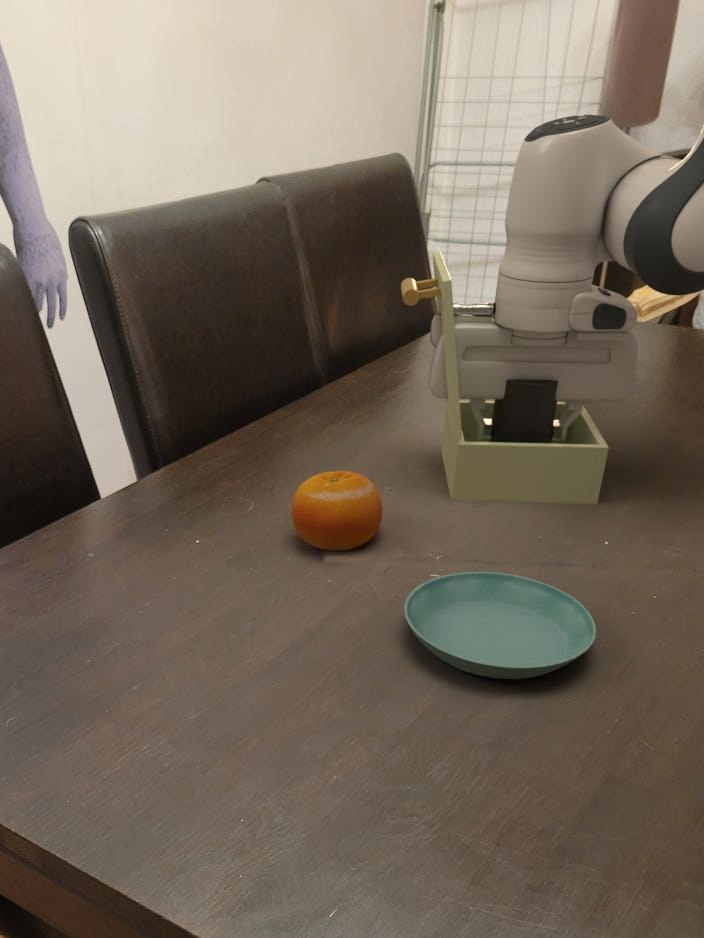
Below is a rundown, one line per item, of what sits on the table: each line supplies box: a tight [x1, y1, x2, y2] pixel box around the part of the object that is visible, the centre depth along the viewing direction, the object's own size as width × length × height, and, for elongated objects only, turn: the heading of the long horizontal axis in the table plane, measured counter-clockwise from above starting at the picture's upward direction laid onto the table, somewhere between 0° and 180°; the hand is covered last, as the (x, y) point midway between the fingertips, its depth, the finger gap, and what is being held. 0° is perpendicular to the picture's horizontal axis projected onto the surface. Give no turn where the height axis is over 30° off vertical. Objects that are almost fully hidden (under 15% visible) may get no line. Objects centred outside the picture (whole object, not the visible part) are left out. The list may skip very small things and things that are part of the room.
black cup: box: [489, 379, 558, 444], centre depth 101 cm, size 6×6×11 cm
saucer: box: [403, 571, 597, 680], centre depth 76 cm, size 15×15×3 cm
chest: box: [440, 399, 610, 505], centre depth 102 cm, size 15×14×7 cm
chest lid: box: [400, 250, 462, 440], centre depth 97 cm, size 15×14×4 cm
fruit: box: [290, 470, 383, 551], centre depth 91 cm, size 8×8×8 cm
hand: (520, 438), depth 101 cm, fingers closed on black cup, 6 cm apart
